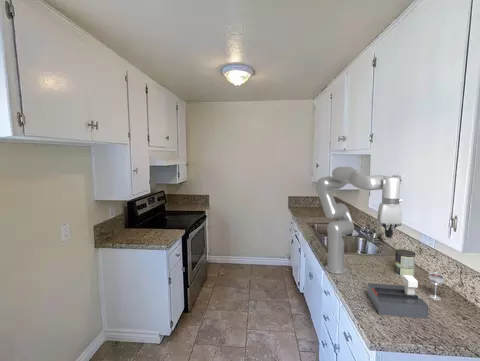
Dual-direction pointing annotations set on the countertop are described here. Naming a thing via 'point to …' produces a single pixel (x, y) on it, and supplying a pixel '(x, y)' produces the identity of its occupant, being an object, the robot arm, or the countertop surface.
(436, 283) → the wineglass
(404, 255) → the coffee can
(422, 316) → the slider base
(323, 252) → the countertop surface
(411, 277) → the handle
